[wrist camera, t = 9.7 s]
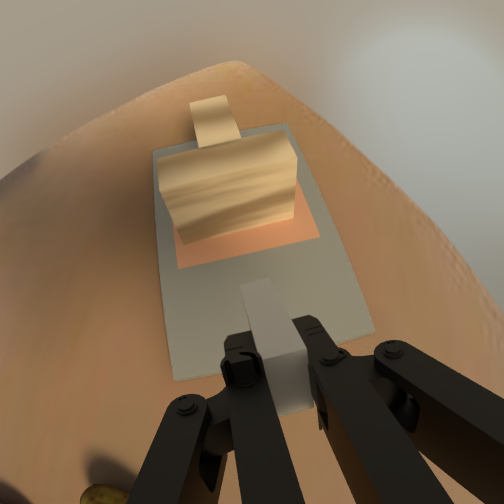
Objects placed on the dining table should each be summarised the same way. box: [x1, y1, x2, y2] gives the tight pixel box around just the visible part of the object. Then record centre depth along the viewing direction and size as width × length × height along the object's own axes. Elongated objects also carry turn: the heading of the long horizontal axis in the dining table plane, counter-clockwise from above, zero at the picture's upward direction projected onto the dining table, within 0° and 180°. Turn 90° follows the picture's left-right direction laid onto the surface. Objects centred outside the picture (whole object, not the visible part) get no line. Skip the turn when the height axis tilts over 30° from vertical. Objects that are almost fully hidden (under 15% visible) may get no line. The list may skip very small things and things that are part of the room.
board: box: [153, 123, 375, 382], centre depth 36 cm, size 30×19×2 cm, turn 13°
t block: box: [157, 95, 298, 245], centre depth 33 cm, size 12×12×9 cm
